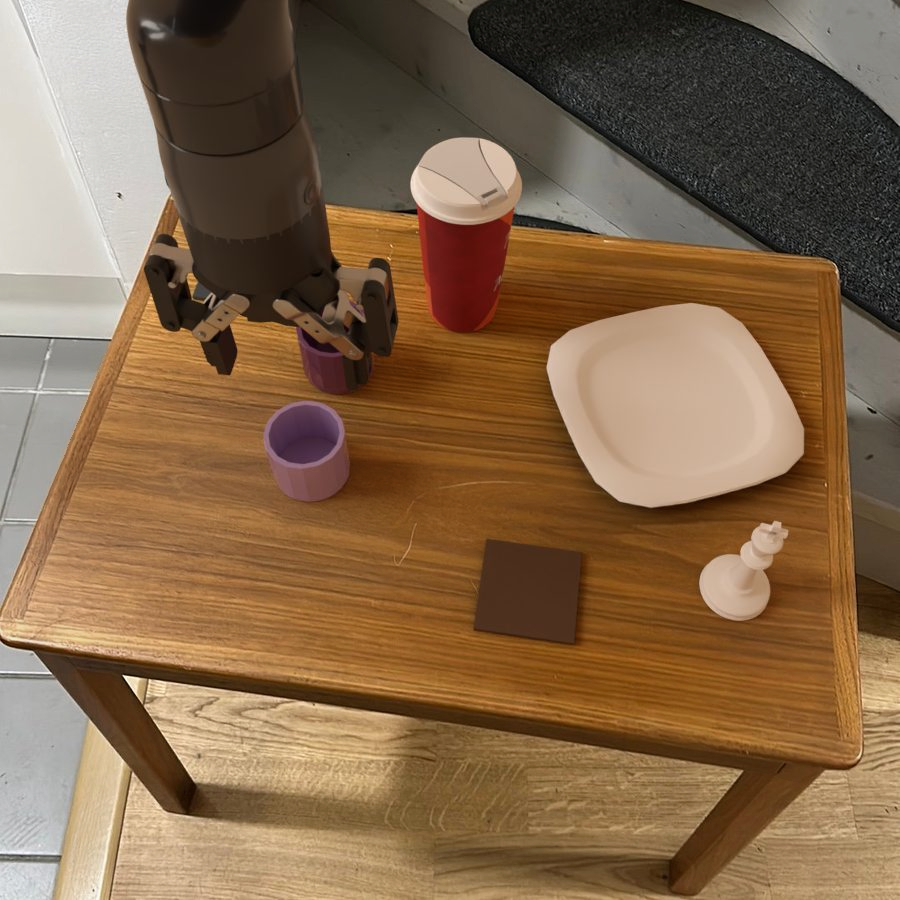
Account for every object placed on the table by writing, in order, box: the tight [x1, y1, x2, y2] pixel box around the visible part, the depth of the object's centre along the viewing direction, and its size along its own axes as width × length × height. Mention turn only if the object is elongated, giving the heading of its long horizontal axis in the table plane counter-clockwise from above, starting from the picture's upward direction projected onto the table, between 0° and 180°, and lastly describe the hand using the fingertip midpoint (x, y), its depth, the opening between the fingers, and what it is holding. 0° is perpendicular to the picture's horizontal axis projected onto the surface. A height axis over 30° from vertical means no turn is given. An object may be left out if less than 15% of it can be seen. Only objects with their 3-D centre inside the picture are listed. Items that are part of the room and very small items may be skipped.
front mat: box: [472, 538, 583, 646], centre depth 66 cm, size 7×7×1 cm
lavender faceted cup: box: [262, 399, 351, 503], centre depth 69 cm, size 6×6×5 cm
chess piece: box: [698, 520, 789, 622], centre depth 62 cm, size 5×5×10 cm
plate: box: [546, 302, 805, 510], centre depth 73 cm, size 18×18×2 cm
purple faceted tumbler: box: [295, 300, 376, 395], centre depth 74 cm, size 6×6×5 cm
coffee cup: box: [410, 137, 523, 333], centre depth 73 cm, size 8×8×15 cm
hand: (291, 372), depth 60 cm, fingers open, 8 cm apart
